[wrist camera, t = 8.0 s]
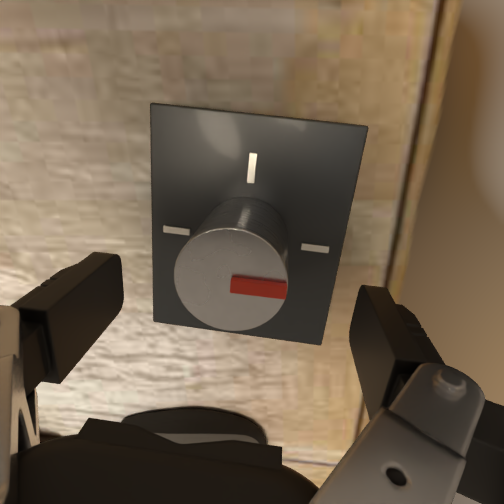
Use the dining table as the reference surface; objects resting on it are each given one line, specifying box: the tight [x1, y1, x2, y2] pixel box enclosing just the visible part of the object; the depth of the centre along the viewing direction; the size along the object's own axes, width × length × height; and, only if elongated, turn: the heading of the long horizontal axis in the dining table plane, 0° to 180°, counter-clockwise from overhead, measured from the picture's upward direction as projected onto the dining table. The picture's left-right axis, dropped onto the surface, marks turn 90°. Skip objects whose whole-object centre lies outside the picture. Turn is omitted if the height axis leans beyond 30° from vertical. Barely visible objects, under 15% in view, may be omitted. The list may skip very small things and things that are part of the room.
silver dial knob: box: [174, 197, 288, 331], centre depth 15 cm, size 4×4×5 cm
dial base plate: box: [150, 103, 368, 345], centre depth 19 cm, size 12×10×3 cm
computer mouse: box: [121, 409, 266, 445], centre depth 26 cm, size 7×12×4 cm, turn 94°
